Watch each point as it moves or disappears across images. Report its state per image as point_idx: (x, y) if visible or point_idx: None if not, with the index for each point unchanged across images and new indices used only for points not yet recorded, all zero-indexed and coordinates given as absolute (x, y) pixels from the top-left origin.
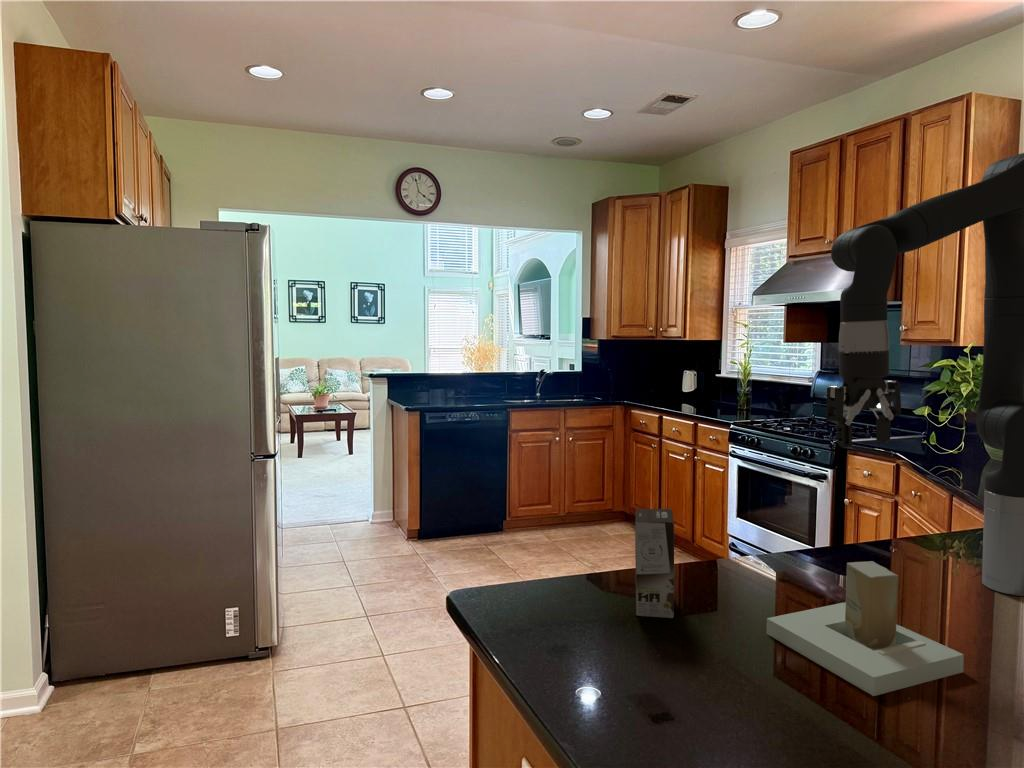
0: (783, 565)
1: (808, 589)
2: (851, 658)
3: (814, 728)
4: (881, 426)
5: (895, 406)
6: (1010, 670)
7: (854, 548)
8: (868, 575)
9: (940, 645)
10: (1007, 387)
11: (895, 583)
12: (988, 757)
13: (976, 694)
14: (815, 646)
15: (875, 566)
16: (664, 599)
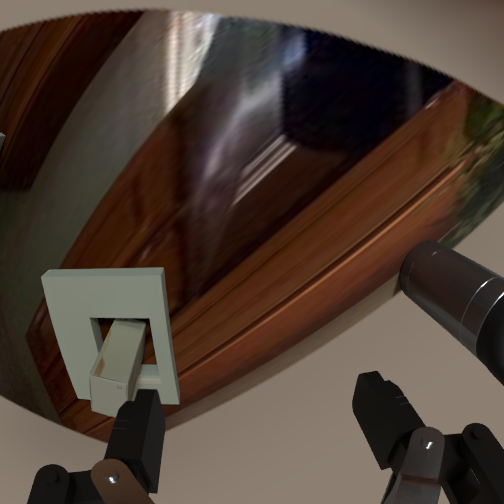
0: (229, 63)
1: (185, 166)
2: (76, 374)
3: (29, 391)
4: (377, 434)
5: (449, 498)
6: (222, 401)
7: (393, 66)
8: (93, 406)
9: (173, 388)
10: None
11: None
12: None
13: None
14: (59, 344)
15: (116, 397)
16: None
